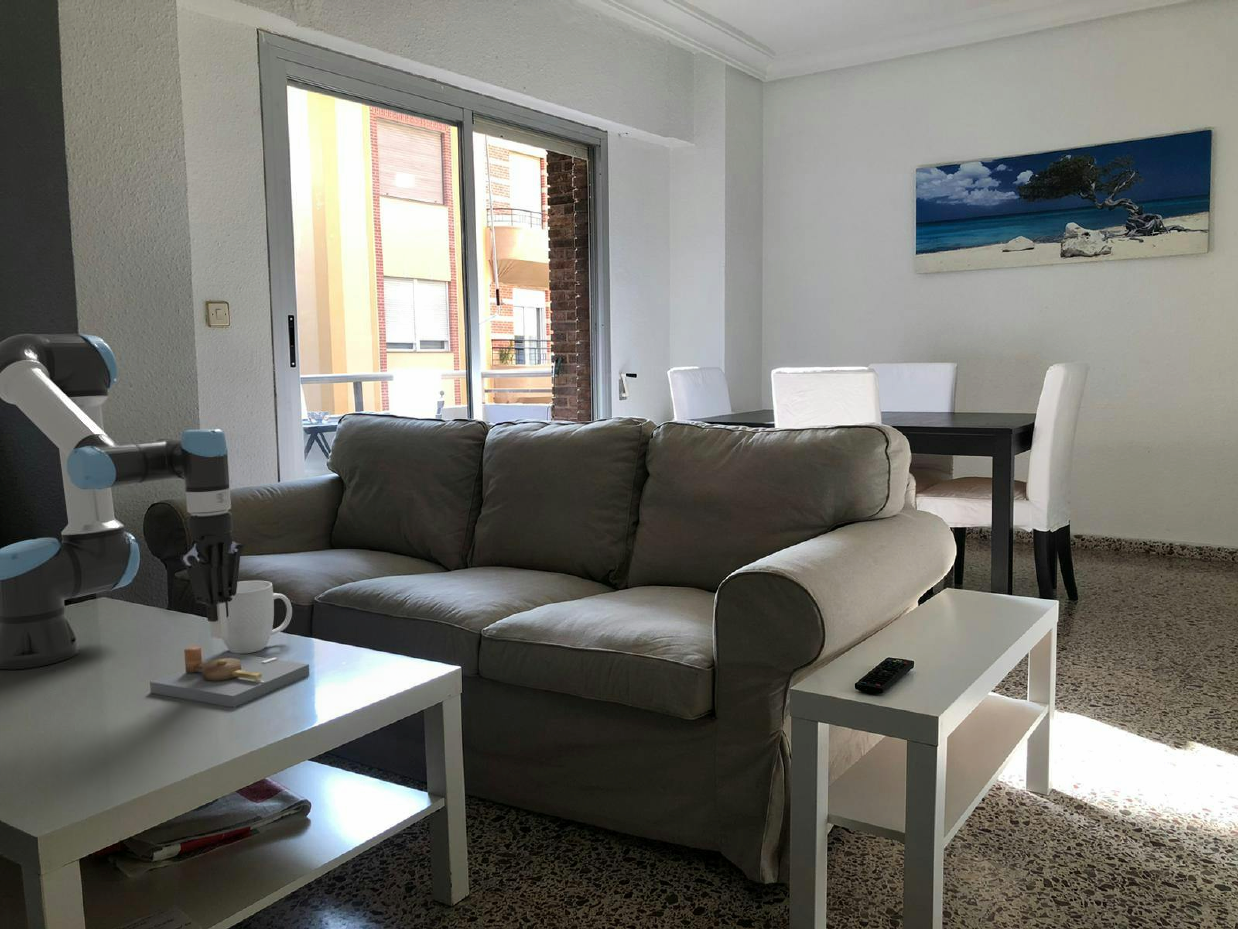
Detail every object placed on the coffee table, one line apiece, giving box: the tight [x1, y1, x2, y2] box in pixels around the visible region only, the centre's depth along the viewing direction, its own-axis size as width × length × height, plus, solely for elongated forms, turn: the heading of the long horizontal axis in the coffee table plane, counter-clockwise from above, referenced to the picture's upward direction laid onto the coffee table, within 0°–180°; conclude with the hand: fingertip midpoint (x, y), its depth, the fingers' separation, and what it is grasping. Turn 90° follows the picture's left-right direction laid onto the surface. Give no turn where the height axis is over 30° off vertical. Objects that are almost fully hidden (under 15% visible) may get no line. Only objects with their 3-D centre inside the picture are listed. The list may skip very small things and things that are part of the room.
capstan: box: [183, 646, 262, 681], centre depth 173 cm, size 17×6×4 cm, turn 65°
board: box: [149, 652, 310, 708], centre depth 175 cm, size 20×18×2 cm
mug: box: [221, 580, 293, 655], centre depth 196 cm, size 15×11×13 cm
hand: (219, 636), depth 181 cm, fingers closed
